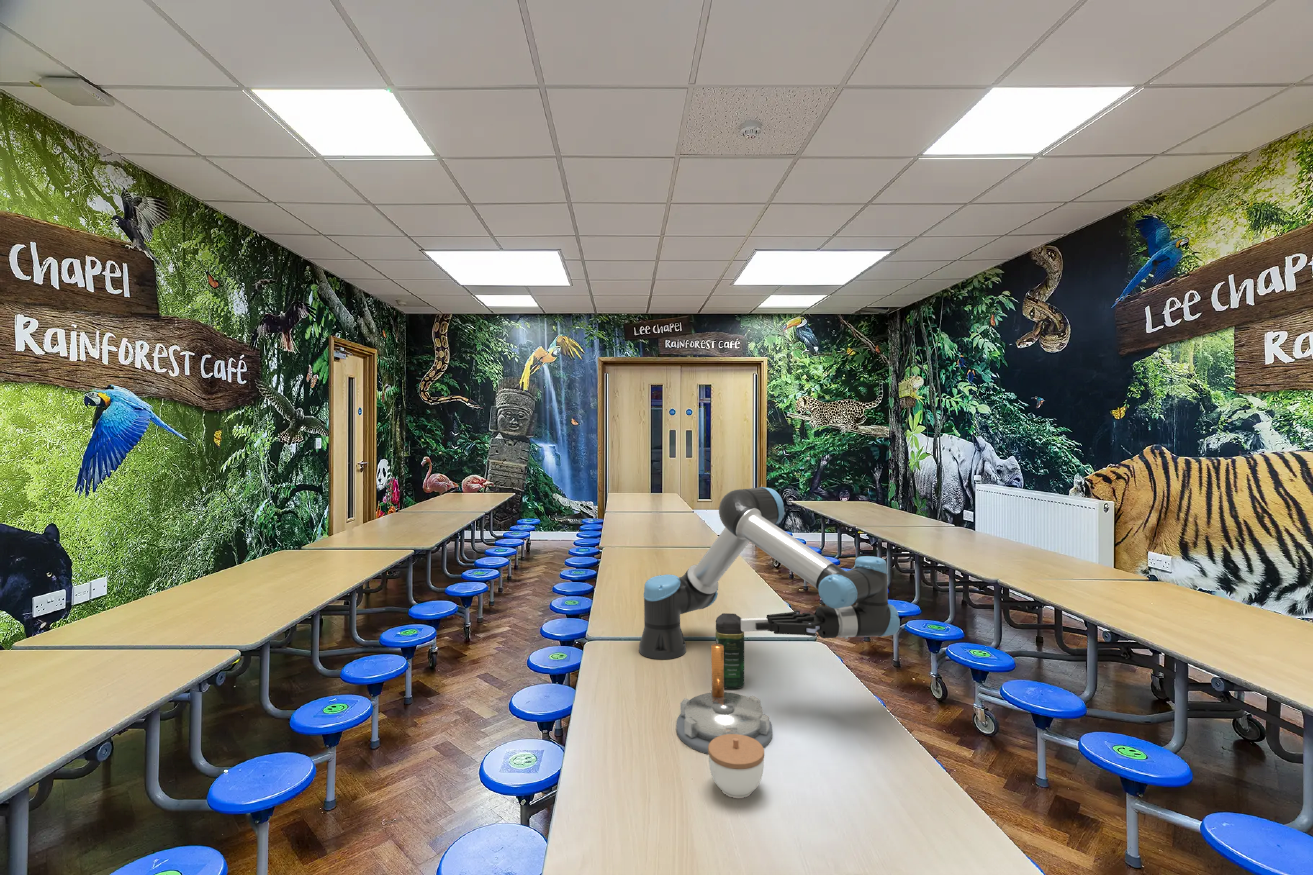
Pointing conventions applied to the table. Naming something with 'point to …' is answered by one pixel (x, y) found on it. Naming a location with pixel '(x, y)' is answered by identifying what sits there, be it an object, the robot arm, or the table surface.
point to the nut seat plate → (703, 744)
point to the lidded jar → (736, 764)
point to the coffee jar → (731, 649)
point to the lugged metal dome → (722, 708)
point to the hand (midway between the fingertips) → (741, 625)
